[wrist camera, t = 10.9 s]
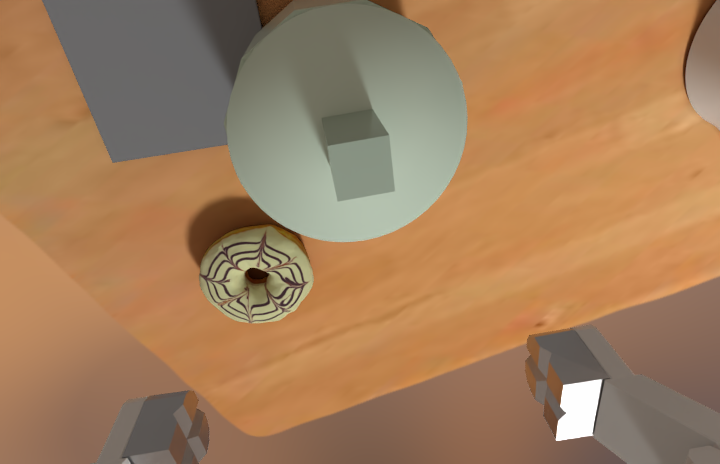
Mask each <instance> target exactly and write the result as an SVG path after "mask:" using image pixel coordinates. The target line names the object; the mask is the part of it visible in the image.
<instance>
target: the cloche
mask: <svg viewBox="0 0 720 464" xmlns="http://www.w3.org/2000/svg"><path fill="white" fill-rule="evenodd" d="M224 127H225V130H226V134H227V141H228V147H229V152H230V156H231V160H232V163H233V166H234V168H235V171H236V174H237V176H238V178H239V179H240V182H241V184H242V185H243V187H244V188H245V190H246V191H247V193H248V194H249V195H250V197H251V198H252V200H253V201H254V202H255V203H256V204H257V205H258V206H259V207H260V208H261V209H262V210H263V211H264V212H265V213H266V214H268V215H269V216H270V217H271V218H272V219H274V220H275V221H277V222H278V223H280V224H281V225H283V226H284V227H286V228H288V229H290V230H292V231H295V232H297V233H299V234H302V235H305V236H308V237H311V238H315V239H320V240H324V241H334V242H354V241H362V240H368V239H372V238H376V237H380V236H383V235H385V234H388V233H391V232H393V231H395V230H397V229H399V228H401V227H403V226H405V225H407V224H408V223H410V222H411V221H413V220H415V219H416V218H417V217H419V216H420V215H421V214H422V213H424V212H425V211H426V210H427V209H428V208H429V207H430V206H431V205H432V204H433V203H434V202H435V201H436V200H437V199H438V198H439V196H440V195H441V194H442V192H443V191H444V190H445V189H446V187H447V186H448V184H449V182H450V181H451V179H452V177H453V176H454V173H455V171H456V169H457V167H458V164H459V162H460V159H461V156H462V153H463V149H464V145H465V140H466V134H467V107H466V100H465V95H464V90H463V86H462V82H461V80H460V78H459V75H458V73H457V71H456V69H455V67H454V65H453V63H452V61H451V59H450V58H449V56H448V55H447V54H446V52H445V51H444V50H443V48H442V47H441V45H440V44H439V43H438V42H437V41H436V40H435V38H434V37H433V35H432V34H431V32H430V30H429V29H428V28H427V27H425V26H423V25H420V24H418V23H416V22H414V21H412V20H410V19H407V18H405V17H403V16H402V15H399V14H397V13H394V12H392V11H390V10H388V9H386V8H384V7H381V6H379V5H377V4H375V3H373V2H371V1H368V0H293V1H292V2H290V3H289V4H288V5H287V6H286V7H285V8H284V9H283V10H282V11H281V12H280V13H278V14H277V15H276V16H275V17H274V18H273V19H272V20H271V21H270V22H269V23H268V24H267V25H265V26H264V27H263V28H262V29H261V30H260V31H259V32H258V33H257V34H256V35H255V36H254V38H253V40H252V41H251V43H250V45H249V46H248V48H247V50H246V52H245V53H244V55H243V57H242V58H241V61H240V65H239V69H238V73H237V76H236V80H235V84H234V87H233V90H232V93H231V96H230V101H229V106H228V109H227V113H226V117H225V120H224Z"/></svg>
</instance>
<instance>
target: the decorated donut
mask: <svg viewBox="0 0 720 464" xmlns="http://www.w3.org/2000/svg"><path fill="white" fill-rule="evenodd" d="M249 268H258V269H260V270H263V271H265V272H267V273H269V275H268V276H267V277H265V278H264V279H260V280H257V279H252V278H250V277H249V275H248V273H247V272H248V271H247V270H248V269H249ZM199 281H200V287H201V290H202V291H203V293H204V295H205V296H206V298H207V300H208V301H209V302H211V303H212V304H213V305H214V306H215V307H216V308H218V309H219V310H220V311H221V312H222V313H223V314H225V315H226V316H228V317H230V318H231V319H233V320H236V321H239V322H247V323H263V322H270V321H278V320H280V319H282V318H284V317H285V316H286V315H287V314H288V313H291V312H293V311H295V310H296V309H297V307H298V306H299V304H300V302H301V301H302V300H304V298H305V297H306V296H307V294H308V293H309V291H310V289H311V288H312V285H313V282H314V277H313V271H312V267H311V265H310V260H309V257H308V255H307V252H306V250H305V248H304V246H303V244H302V242H301V241H300V240H299V239H298V238H297V236H296V235H294V234H293V233H290V232H288V231H286V230H284V229H282V228H280V227H277V226H275V225H272V224H265V225H257V226H249V227H242V228H239V229H236V230H233V231H230V232H228V233H227V234H225V235H224V236H222V237H221V238H220V239H218V240H217V241H215V242H214V243H213V244H212V245H211V246H210V247H209V248H208V249H207V251H206V253H205V254H204V256H203V258H202V262H201V265H200V274H199Z"/></svg>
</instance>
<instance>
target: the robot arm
mask: <svg viewBox="0 0 720 464" xmlns="http://www.w3.org/2000/svg"><path fill="white" fill-rule="evenodd" d="M685 80H686V90H687V94H688V98H689V100H690V103H691V105H692V107H693V108H694V110H695V111H696V112H697V113H698V115H699V116H701V117H702V118H703V119H704V120H706V121H707V122H709V123H711V124H712V125H714V126H716V127H717V128H718V129H719V130H720V0H717V1H716V2H715V3H714V5H713V6H712V7H711V9H710V10H709V12H708V13H707V15H706V16H705V18H704V19H703V21H702V23H701V25H700V27H699V29H698V31H697V33H696V35H695V37H694V40H693V42H692V45H691V48H690V51H689V55H688V59H687V65H686V75H685ZM527 349H528V351H529V353H530V354H531V355H530V356H529V357H528V358H527V360H526V361H525V372H526V377H527V382H528V385H529V388H530V391H531V393H532V395H533V397H534V399H535V400H536V401H538V402H540V403H541V404H543V405H544V414H543V416H544V418H545V420H546V422H547V423H548V425H549V427H550V429H551V431H552V433H553V434H554V437H555V438H556V440H562V439H569V438H576V437H584V436H591V435H594V436H593V437H594V438H595V439H596V440H598V441H599V442H600V443H602V444H603V445H604V446H606V447H607V448H608V449H609V450H611V451H612V452H613V453H615V454H616V455H617V456H618V457H620V458H621V459H622V460H624V461H625V462H626V463H627V464H720V414H719V413H717V412H716V411H714V410H712V409H709V408H707V407H706V406H704V405H702V404H699V403H698V402H696V401H694V400H692V399H690V398H688V397H685V396H684V395H682V394H680V393H678V392H676V391H674V390H672V389H670V388H668V387H666V386H664V385H662V384H660V383H658V382H656V381H654V380H652V379H650V378H648V377H646V376H644V375H642V374H639V375H634V373H633V372H632V371H631V370H630V368H629V367H628V366H627V365H626V364H625V362H624V361H623V360H622V359H621V357H620V356H619V355H618V354H617V353H616V351H615V350H614V349H613V348H612V346H611V345H610V344H609V343H608V341H607V340H606V339H605V338H604V337H603V336H602V334H601V333H600V332H599V331H598V329H597V328H596V327H595V326H593V325H586V326H580V327H574V328H570V329H562V330H556V331H550V332H545V333H539V334H533V335H529V337H528V339H527ZM198 401H199V400H198V398H197V396H196V394H195V392H194V391H182V392H175V393H168V394H161V395H154V396H149V397H141V398H134V399H129V400H127V401H126V402H125V403H124V404H123V406H122V408H121V410H120V412H119V414H118V416H117V419H116V421H115V423H114V425H113V427H112V430H111V432H110V434H109V436H108V438H107V441H106V443H105V445H104V447H103V450H102V452H101V454H100V456H99V458H98V460H97V463H92V464H199V462H200V461H201V459H202V458H203V457H204V456H205V455H206V454H207V450H208V445H209V425H208V420H207V418H206V416H205V413H204V412H202V411H201V410H199V409H197V405H198Z"/></svg>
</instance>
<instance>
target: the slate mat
mask: <svg viewBox="0 0 720 464" xmlns="http://www.w3.org/2000/svg"><path fill="white" fill-rule="evenodd" d="M42 1H43V3H44V5H45V8H46V10H47V12H48V15H49V17H50V19H51V22H52V24H53V26H54V29H55V31H56V33H57V35H58V38H59V40H60V42H61V45H62V47H63V49H64V52H65V54H66V56H67V58H68V61H69V63H70V65H71V68H72V70H73V72H74V75H75V77H76V79H77V82H78V84H79V86H80V88H81V91H82V93H83V95H84V98H85V100H86V102H87V105H88V107H89V109H90V111H91V114H92V116H93V118H94V121H95V123H96V125H97V128H98V130H99V132H100V135H101V137H102V139H103V141H104V144H105V146H106V148H107V151H108V153H109V155H110V158H111V160H112V162H113V163H114V162H121V161H127V160H133V159H139V158H146V157H152V156H158V155H165V154H171V153H177V152H183V151H190V150H196V149H202V148H209V147H215V146H221V145H227V144H228V141H227V134H226V130H225V127H224V120H225V117H226V113H227V109H228V106H229V101H230V96H231V93H232V90H233V87H234V84H235V80H236V76H237V73H238V69H239V65H240V61H241V58H242V57H243V55H244V53H245V52H246V50H247V48H248V46H249V45H250V43H251V41H252V40H253V38H254V36H255V35H256V34H257V33H258V32H259V31H260V30H261V29H262V25H261V20H260V16H259V11H258V7H257V2H256V0H42Z"/></svg>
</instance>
